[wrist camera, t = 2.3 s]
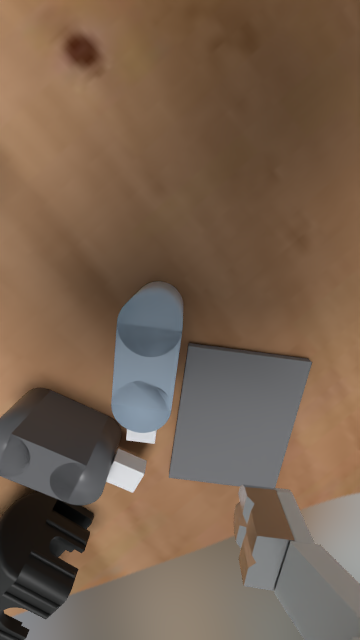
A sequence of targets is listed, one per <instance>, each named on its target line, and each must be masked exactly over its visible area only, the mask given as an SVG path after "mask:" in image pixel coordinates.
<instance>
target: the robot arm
mask: <svg viewBox="0 0 360 640" xmlns="http://www.w3.org/2000/svg"><path fill="white" fill-rule="evenodd" d="M239 499H240V502H239V503H238V504H236V506H235V512H234V534H235V540H236V542H237V544H238V545H239V547H240V548H241V551H240V555H239V563H240V569H241V574H242V580H243V585H244V586H247V587H254V588H260V589H267V590H274V593H275V595H276V596H277V598H278V600H279V601H280V603H281V604H282V606H283V607H284V609H285V611H286V612H287V614H288V615H289V617H290V618H291V620H292V621H293V623H294V625H295V626H296V628H297V629H298V631H299V632H300V634H301V636H302V637H303V639H304V640H360V584H359V583H358V582H357V581H356V580H355V579H354V578H353V577H352V576H351V575H350V574H349V573H348V572H347V571H346V570H345V569H344V568H343V567H342V566H341V565H340V564H339V563H338V562H337V561H336V560H335V559H334V558H333V557H332V556H331V555H330V554H329V553H328V552H327V551H326V550H325V549H324V548H323V547H322V546H321V545H318V544H315V543H314V540H313V538H312V536H311V534H310V532H309V529H308V527H307V525H306V523H305V520H304V518H303V516H302V514H301V511H300V509H299V507H298V505H297V503H296V500H295V498H294V496H293V494H292V492H291V491H290V490H288V489H279V488H270V487H261V486H253V485H244V484H242V485H241V487H240V490H239Z"/></svg>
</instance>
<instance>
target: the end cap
mask: <svg viewBox="0 0 360 640" xmlns="http://www.w3.org/2000/svg"><path fill="white" fill-rule="evenodd" d="M93 517H94V516H93V513H92V512H91V511H89V510H87V509H86V508H84V507H82V506H81V505H73V504H69V503H66V502H64V501H61V500H59V499H56V498H54V497H51V496H49V495H46V494H44V493H41V492H36V493H31V494H28V495H26V496H23V497H22V498H20V499H19V500H17V501H16V502H15V503H14V504H12V505H11V506H10V507H9V508H8V510H7V511H6V512H5V513H4V514H3V515H2V517H1V518H0V640H24V639H25V638H26V637H27V634H28V632H29V629H27V628H25V627H23V626H21V624H22V622H20V621H18V620H16V619H14V618H12V617H10V616H8V615H6V614H4V611H3V610H5V609H7V608H12V607H18V608H23V609H26V610H28V611H30V612H33V613H34V614H36V615H38V616H40V617H42V618H44V619H47V618H48V617H49V616H50V615H51V614H52V613H53V612H55V611H56V610H57V609H58V608H59V607H60V606H61V605H62V604H63V603H64V602H65V601H66V599H67V598H68V596H69V594H70V592H71V589H72V586H73V583H74V580H75V577H76V574H77V571H78V569H77V568H75V567H74V566H72V565H70V564H68V563H66V562H65V561H63V560H61V559H59V558H58V557H59V556H60V555H61V554H62V553H63V552H64V551H65V550H67V551H69V552H72V551H73V550H74V549H75V550H77V551H79V552H80V553H82V552H83V551H84V550H85V547H86V544H87V541H88V538H89V535H90V531H88V530H86V529H87V528H88V527H89V526H90V525H91V523H92V520H93Z"/></svg>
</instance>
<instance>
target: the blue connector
mask: <svg viewBox="0 0 360 640" xmlns="http://www.w3.org/2000/svg"><path fill="white" fill-rule="evenodd" d="M182 328H183V299H182V296H181V294H180V293H179V291H178V290H177V289H176V288H175V287H174V286H172V285H171V284H169V283H166V282H162V281H155V282H151V283H148V284H146V285H145V286H143V287H142V288H141V289H140V290H139V291H138V292H137V293H136V294H135V295H134V296H133V297H132V298H131V299H130V300H129V301H128V302H127V303H126V304H125V305H124V306H123V307H122V309H121V311H120V313H119V315H118V319H117V331H116V345H115V360H114V374H113V389H112V404H111V406H112V412H113V415H114V417H115V419H116V420H117V421H118V422H119V423H120V424H121V425H122V426H123V427H124V428H126V429H127V436H126V440H128V441H136V442H144V443H152V444H155V438H156V432H157V429H159V428H161V427H162V426H163V425H164V424H165V423H166V422H167V420H168V419H169V416H170V413H171V407H172V400H173V393H174V386H175V379H176V372H177V365H178V358H179V351H180V344H181V337H182Z"/></svg>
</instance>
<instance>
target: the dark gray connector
mask: <svg viewBox="0 0 360 640" xmlns="http://www.w3.org/2000/svg"><path fill="white" fill-rule="evenodd" d="M120 439H121V428H120V426H119V424H118V423H117V422H116V421H115V420H114V419H113V418H111V417H109V416H107V415H105V414H103V413H100V412H98V411H96V410H94V409H92V408H89V407H87V406H85V405H83V404H80V403H78V402H76V401H74V400H71V399H69V398H67V397H65V396H63V395H60V394H58V393H56V392H54V391H51V390H49V389H45V388H36V389H32V390H30V391H29V392H27V393H26V394H25V395H24V396H23V397H22V398H21V399H20V400H19V401H18V402H17V403H15V404H14V405H13V406H12V407H11V408H10V409H9V410H8V411H7V412H6V413H5V414H4V415H3V416H2V417H1V418H0V476H1V477H4V478H6V479H9V480H11V481H14V482H16V483H19V484H21V485H24V486H26V487H29V488H31V489H34V490H36V491H39V492H41V493H44V494H46V495H49V496H51V497H54V498H56V499H59V500H61V501H64V502H66V503H69V504H73V505H87V504H91V503H93V502H95V501H96V500H97V499H98V498H99V497H100V496H101V494H102V492H103V489H104V486H105V483H106V482H108V483H111V484H113V485H116V486H118V487H120V488H123V489H125V490H128V491H130V492H132V493H133V492H134V490H135V489H136V487H137V485H138V484H139V482H140V480H141V479H142V477H143V475H144V473H145V468H146V462H147V461H146V460H144V459H141V458H139V457H137V456H134V455H132V454H130V453H128V452H125V451H123V450H121V449H118V450H117V448H118V445H119V442H120ZM116 451H117V452H116Z"/></svg>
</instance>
